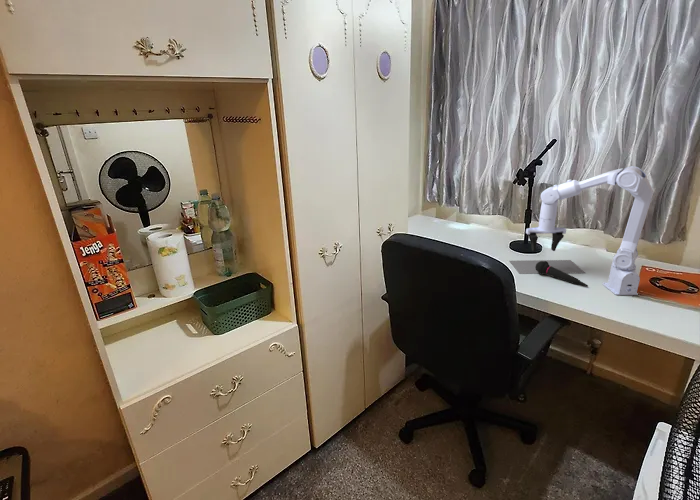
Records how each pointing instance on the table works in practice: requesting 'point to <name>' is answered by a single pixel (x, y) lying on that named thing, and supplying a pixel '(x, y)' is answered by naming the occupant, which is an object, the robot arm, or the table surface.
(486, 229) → the table surface
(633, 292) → the robot arm
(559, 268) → the charcoal mat
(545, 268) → the microphone
